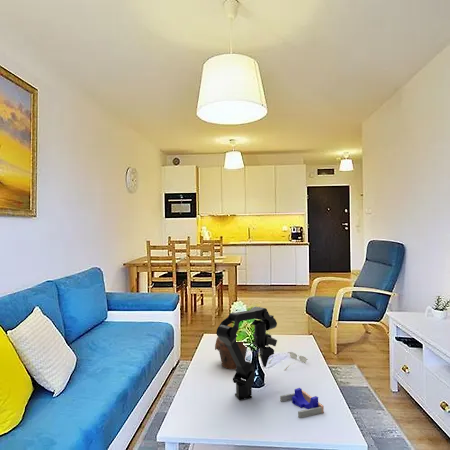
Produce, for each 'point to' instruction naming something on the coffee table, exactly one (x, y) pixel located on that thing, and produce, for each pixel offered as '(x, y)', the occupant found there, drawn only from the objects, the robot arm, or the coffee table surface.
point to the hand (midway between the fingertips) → (260, 363)
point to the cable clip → (301, 401)
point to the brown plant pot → (228, 353)
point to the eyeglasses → (294, 356)
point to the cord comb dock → (307, 397)
